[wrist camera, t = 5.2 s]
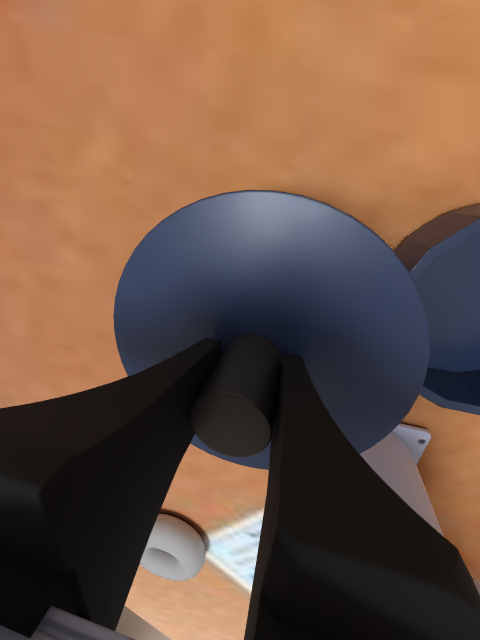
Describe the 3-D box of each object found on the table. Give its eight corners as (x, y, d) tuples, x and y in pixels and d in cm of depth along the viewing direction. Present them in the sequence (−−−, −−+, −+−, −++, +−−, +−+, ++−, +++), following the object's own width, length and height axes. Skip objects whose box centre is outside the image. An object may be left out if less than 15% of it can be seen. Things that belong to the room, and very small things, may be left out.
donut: (204, 563, 38) (214, 526, 33) (194, 596, 35) (205, 559, 30) (137, 537, 39) (139, 497, 35) (123, 566, 36) (122, 526, 32)
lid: (365, 478, 13) (389, 602, 9) (137, 419, 16) (76, 499, 11) (482, 211, 8) (652, 228, 4) (115, 174, 10) (-14, 161, 6)
